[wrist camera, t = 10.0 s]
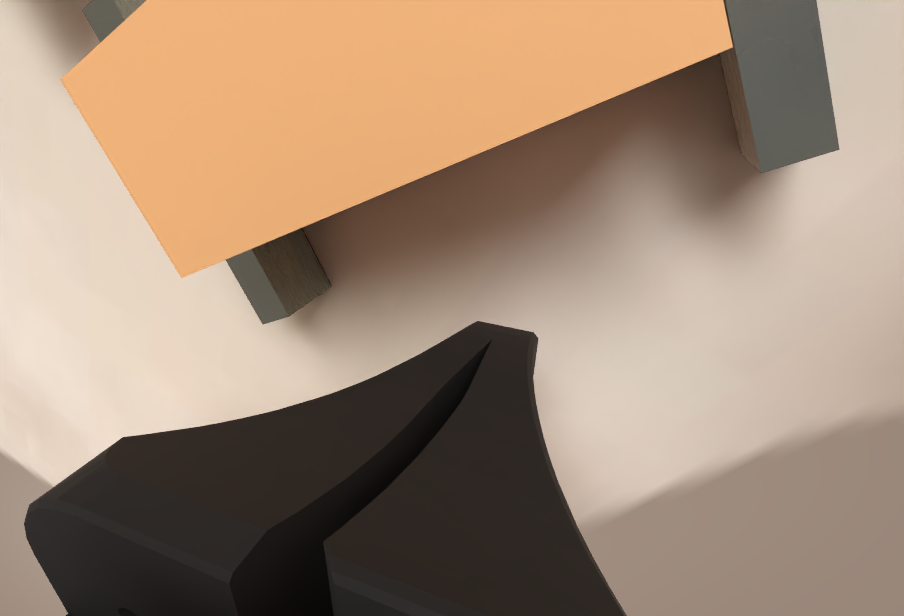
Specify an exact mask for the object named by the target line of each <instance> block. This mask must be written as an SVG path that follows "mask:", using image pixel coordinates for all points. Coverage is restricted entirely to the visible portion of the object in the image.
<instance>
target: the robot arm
mask: <svg viewBox="0 0 904 616" xmlns="http://www.w3.org/2000/svg"><path fill="white" fill-rule="evenodd" d="M537 344H538V338H537V336H536V335H535V334H534V332H529V331H524V330H519V329H514V328H509V327H504V326H499V325H494V324H490V323H485V322H480V321H477V322H475V323H473V324H471V325H469V326H468V327H466V328H464V329H463V330H461V331H459V332H458V333H456V334H454V335H452V336H451V337H449V338H447V339H446V340H444V341H442V342H441V343H439V344H437V345H435V346H433V347H432V348H430V349H428V350H426V351H425V352H423V353H421V354H419V355H417V356H416V357H414V358H412V359H410V360H408V361H406V362H403V363H401V364H399V365H397V366H395V367H393V368H391V369H389V370H387V371H385V372H383V373H381V374H379V375H377V376H375V377H373V378H370V379H368V380H365V381H363V382H361V383H358V384H356V385H353V386H350V387H348V388H345V389H343V390H340V391H337V392H335V393H332V394H329V395H326V396H323V397H319V398H316V399H313V400H309V401H306V402H303V403H299V404H296V405H293V406H289V407H286V408H283V409H279V410H275V411H272V412H268V413H263V414H259V415H255V416H251V417H246V418H242V419H237V420H232V421H227V422H222V423H217V424H212V425H206V426H200V427H194V428H187V429H180V430H173V431H166V432H159V433H153V434H146V435H138V436H129V437H123V438H121V439H120V440H119V441H117V442H116V443H114V444H113V445H112V446H110V447H109V448H107V449H106V450H105V451H103V452H102V453H100V454H99V455H98V456H96V457H95V458H94V459H92V460H91V461H89V462H88V463H87V464H85V465H84V466H82V467H81V468H80V469H78V470H77V471H76V472H74V473H73V474H71V475H70V476H69V477H67V478H66V479H64V480H63V481H62V482H60V483H59V484H57V485H56V486H55V487H53V488H52V489H51V490H49V491H48V492H46V493H45V494H44V495H42V496H41V497H39V498H38V499H37V500H35V501H34V502H33V503H31V504H30V505H29V508H28V511H27V514H26V518H25V523H24V526H25V531H26V537H27V540H28V542H29V544H30V546H31V548H32V550H33V553H34V555H35V557H36V558H37V560H38V562H39V563H40V565H41V567H42V568H43V570H44V572H45V574H46V576H47V577H48V579H49V581H50V583H51V584H52V586H53V588H54V590H55V591H56V593H57V595H58V596H59V598H60V600H61V601H62V603H63V605H64V607H65V609H66V610H67V612H68V614H67V615H66V616H626V614H625V612H624V611H623V609H622V607H621V606H620V604H619V602H618V601H617V599H616V597H615V595H614V594H613V592H612V591H611V589H610V587H609V586H608V584H607V582H606V580H605V578H604V576H603V575H602V573H601V571H600V569H599V567H598V566H597V564H596V562H595V560H594V558H593V557H592V554H591V553H590V551H589V549H588V547H587V545H586V543H585V541H584V539H583V537H582V535H581V533H580V531H579V529H578V527H577V525H576V522H575V520H574V518H573V515H572V513H571V511H570V508H569V506H568V504H567V501H566V499H565V497H564V495H563V492H562V490H561V488H560V485H559V483H558V480H557V478H556V475H555V472H554V469H553V466H552V463H551V460H550V458H549V454H548V451H547V448H546V444H545V441H544V437H543V433H542V429H541V425H540V421H539V416H538V411H537V406H536V399H535V393H534V382H533V374H534V367H535V359H536V352H537Z"/></svg>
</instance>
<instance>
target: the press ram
mask: <svg viewBox="0 0 904 616" xmlns="http://www.w3.org/2000/svg"><path fill="white" fill-rule="evenodd" d="M732 47H733V45H732V40H731V36H730V31H729V26H728V21H727V16H726V11H725V7H724V2H723V0H146V1H145V2H144V3H143V4H142V5H141V6H140V7H139V8H138V9H137V10H136V11H134V12H133V13H132V14H131V15H130V16H129V17H128V18H127V19H126V20H125V21H124V22H123V23H121V24H120V25H119V26H118V27H117V28H116V29H115V30H114V31H113V32H112V33H111V34H109V35H108V36H107V37H106V38H105V39H104V40H103V41H102V42H101V43H100V44H99V45H98V46H96V47H95V48H94V49H93V50H92V51H91V52H90V53H89V54H88V55H87V56H86V57H84V58H83V59H82V60H81V61H80V62H79V63H78V64H77V65H76V66H75V67H74V68H73V69H71V70H70V71H69V72H68V73H67V74H66V75H65V76H64V77H63V78H62V79H61V82H62V83H63V85H64V87H65V88H66V90H67V92H68V93H69V95H70V96H71V98H72V100H73V101H74V103H75V105H76V106H77V108H78V110H79V111H80V113H81V114H82V116H83V118H84V119H85V121H86V123H87V124H88V126H89V128H90V129H91V131H92V132H93V134H94V136H95V137H96V139H97V141H98V142H99V144H100V146H101V147H102V149H103V150H104V152H105V154H106V155H107V157H108V159H109V160H110V162H111V164H112V165H113V167H114V168H115V170H116V172H117V173H118V175H119V177H120V178H121V180H122V182H123V183H124V185H125V186H126V188H127V190H128V191H129V193H130V195H131V196H132V198H133V200H134V201H135V203H136V204H137V206H138V208H139V209H140V211H141V213H142V214H143V216H144V218H145V219H146V221H147V222H148V224H149V226H150V227H151V229H152V231H153V232H154V234H155V236H156V237H157V239H158V240H159V242H160V244H161V245H162V247H163V249H164V250H165V252H166V254H167V255H168V257H169V258H170V260H171V262H172V263H173V265H174V267H175V268H176V270H177V272H178V273H179V275H180V276H181V278H183V277H185V276H188V275H190V274H192V273H195V272H197V271H199V270H202V269H204V268H207V267H209V266H211V265H214V264H216V263H219V262H221V261H223V260H226V259H228V258H231V257H233V256H235V255H238V254H240V253H242V252H245V251H247V250H250V249H252V248H254V247H257V246H259V245H262V244H264V243H266V242H269V241H271V240H274V239H276V238H278V237H281V236H283V235H286V234H288V233H290V232H293V231H295V230H297V229H300V228H302V227H305V226H307V225H309V224H312V223H314V222H317V221H319V220H321V219H324V218H326V217H329V216H331V215H333V214H336V213H338V212H340V211H343V210H345V209H348V208H350V207H352V206H355V205H357V204H360V203H362V202H364V201H367V200H369V199H372V198H374V197H376V196H379V195H381V194H383V193H386V192H388V191H391V190H393V189H395V188H398V187H400V186H403V185H405V184H407V183H410V182H412V181H415V180H417V179H419V178H422V177H424V176H426V175H429V174H431V173H434V172H436V171H438V170H441V169H443V168H446V167H448V166H450V165H453V164H455V163H458V162H460V161H462V160H465V159H467V158H469V157H472V156H474V155H477V154H479V153H481V152H484V151H486V150H489V149H491V148H493V147H496V146H498V145H501V144H503V143H505V142H508V141H510V140H513V139H515V138H517V137H520V136H522V135H524V134H527V133H529V132H532V131H534V130H536V129H539V128H541V127H544V126H546V125H548V124H551V123H553V122H556V121H558V120H560V119H563V118H565V117H567V116H570V115H572V114H575V113H577V112H579V111H582V110H584V109H587V108H589V107H591V106H594V105H596V104H599V103H601V102H603V101H606V100H608V99H610V98H613V97H615V96H618V95H620V94H622V93H625V92H627V91H630V90H632V89H634V88H637V87H639V86H642V85H644V84H646V83H649V82H651V81H653V80H656V79H658V78H661V77H663V76H665V75H668V74H670V73H673V72H675V71H677V70H680V69H682V68H685V67H687V66H689V65H692V64H694V63H696V62H699V61H701V60H704V59H706V58H708V57H711V56H713V55H716V54H718V53H720V52H723V51H725V50H728V49H730V48H732Z"/></svg>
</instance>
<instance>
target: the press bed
mask: <svg viewBox="0 0 904 616" xmlns="http://www.w3.org/2000/svg"><path fill="white" fill-rule="evenodd" d="M145 1H146V0H92V1H91V2H90V3H89V4H88V5H87V6H86V7H85V8H84V9H83V10H82V11H83V12H84V14H85V16H86V17H87V19H88V21H89V23H90V24H91V26H92V28H93V30H94V31H95V33H96V35H97V37H98V38H99V40H100V42H102V41H103V40H104V39H105V38H106V37H107V36H108V35H109V34H111V33H112V32H113V31H114V30H115V29H116V28H117V27H118V26H119V25H120V24H121V23H123V22H124V21H125V20H126V19H127V18H128V17H129V16H130V15H131V14H132V13H133V12H134V11H136V10H137V9H138V8H139V7H140V6H141V5H142V4H143V3H144V2H145ZM723 2H724V7H725V11H726V16H727V21H728V26H729V31H730V36H731V40H732V45H733V47H732V48H730V49H728V50H725V51H723V52H720V58H721V63H722V67H723V72H724V76H725V81H726V86H727V90H728V95H729V100H730V104H731V109H732V113H733V118H734V123H735V127H736V132H737V137H738V141H739V146H740V151H741V153H742V154H743V156H744V157H745V158H746V159H747V160H748V161H749V162H750V163H751V164H752V165H753V166H754V167H755V168H756V169H757V170H758V171H759V172H760V173H764V172H767V171H770V170H773V169H777V168H780V167H783V166H787V165H790V164H793V163H797V162H800V161H803V160H806V159H810V158H813V157H816V156H820V155H823V154H826V153H830V152H833V151H836V150H839V144H838V138H837V131H836V125H835V118H834V112H833V105H832V99H831V93H830V86H829V80H828V73H827V67H826V60H825V54H824V47H823V41H822V34H821V28H820V21H819V15H818V8H817V2H816V0H723ZM226 261H227V263H228V265H229V266H230V268H231V270H232V272H233V273H234V275H235V277H236V279H237V280H238V282H239V284H240V286H241V287H242V289H243V291H244V293H245V294H246V296H247V298H248V300H249V301H250V303H251V305H252V307H253V308H254V310H255V312H256V314H257V315H258V317H259V319H260V320H261V322H262V324H266V323H269V322H272V321H276V320H279V319H282V318H286V317H289V316H290V315H292V314H293V313H295V312H296V311H297V310H299V309H300V308H302V307H303V306H304V305H306V304H307V303H309V302H310V301H312V300H313V299H314V298H316V297H317V296H319V295H320V294H321V293H323V292H324V291H326V290H327V289H328V288H330V287H331V285H330V283H329V281H328V279H327V277H326V275H325V273H324V271H323V269H322V267H321V265H320V263H319V261H318V259H317V257H316V255H315V253H314V251H313V250H312V248H311V246H310V244H309V242H308V240H307V238H306V236H305V234H304V232H303V230H302V228H300V229H297V230H295V231H293V232H290V233H288V234H286V235H283V236H281V237H278V238H276V239H274V240H271V241H269V242H266V243H264V244H262V245H259V246H257V247H254V248H252V249H250V250H247V251H245V252H242V253H240V254H238V255H235V256H233V257H231V258H228V259H226Z"/></svg>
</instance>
